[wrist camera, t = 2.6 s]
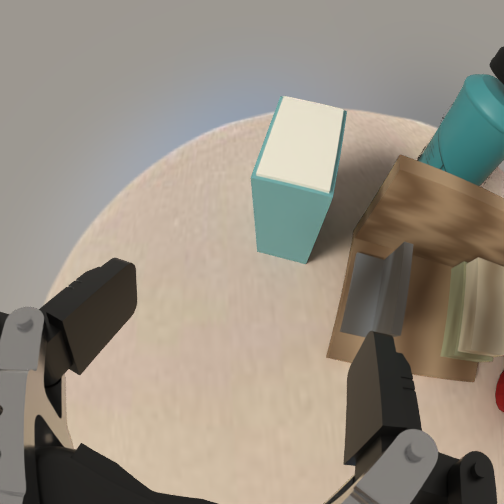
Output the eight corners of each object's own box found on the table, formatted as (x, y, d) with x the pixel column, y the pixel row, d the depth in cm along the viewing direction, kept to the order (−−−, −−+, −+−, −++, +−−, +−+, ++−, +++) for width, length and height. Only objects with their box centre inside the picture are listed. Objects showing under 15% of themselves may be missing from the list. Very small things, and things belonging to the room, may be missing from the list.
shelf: (481, 270, 25) (555, 227, 14) (468, 381, 22) (554, 381, 10) (353, 230, 27) (400, 154, 16) (326, 357, 24) (374, 358, 12)
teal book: (321, 198, 29) (347, 108, 17) (305, 264, 27) (333, 195, 15) (276, 187, 29) (280, 93, 18) (257, 251, 27) (250, 175, 16)
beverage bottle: (455, 224, 27) (571, 109, 8) (408, 229, 27) (528, 87, 8) (437, 173, 29) (522, 47, 10) (390, 174, 29) (469, 22, 11)
